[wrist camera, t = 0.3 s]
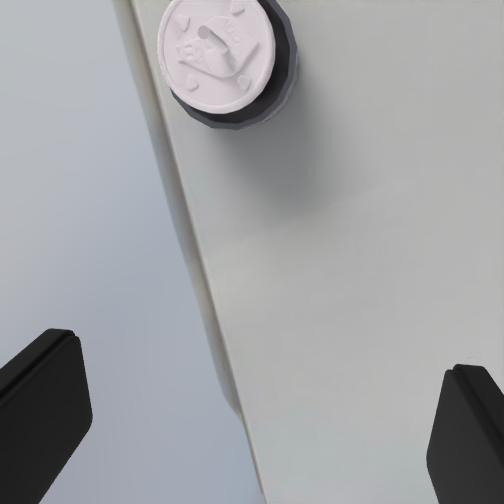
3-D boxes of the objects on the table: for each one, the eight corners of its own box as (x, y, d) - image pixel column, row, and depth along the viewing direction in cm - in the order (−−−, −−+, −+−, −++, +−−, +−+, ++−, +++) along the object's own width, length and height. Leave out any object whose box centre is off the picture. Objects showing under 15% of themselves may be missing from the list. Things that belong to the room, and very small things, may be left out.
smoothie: (287, 108, 30) (272, 106, 17) (207, 117, 31) (134, 122, 18) (280, 13, 28) (258, -73, 15) (195, 26, 29) (102, -43, 16)
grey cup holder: (190, 2, 28) (161, -24, 23) (303, 7, 28) (303, -19, 22) (188, 121, 31) (163, 124, 26) (291, 130, 31) (288, 134, 25)
